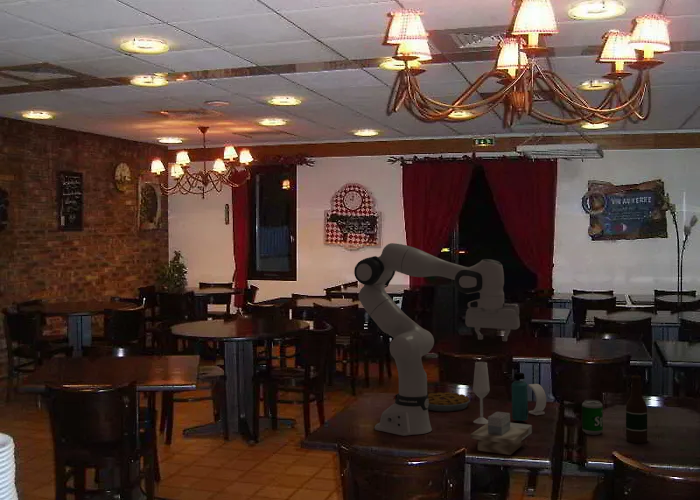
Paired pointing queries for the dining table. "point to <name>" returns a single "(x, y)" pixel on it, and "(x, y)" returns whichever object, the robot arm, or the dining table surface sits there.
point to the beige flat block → (522, 427)
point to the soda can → (592, 417)
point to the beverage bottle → (519, 398)
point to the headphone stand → (538, 399)
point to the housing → (499, 423)
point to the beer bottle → (636, 414)
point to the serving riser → (499, 440)
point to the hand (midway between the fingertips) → (492, 340)
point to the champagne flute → (481, 387)
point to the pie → (447, 401)
